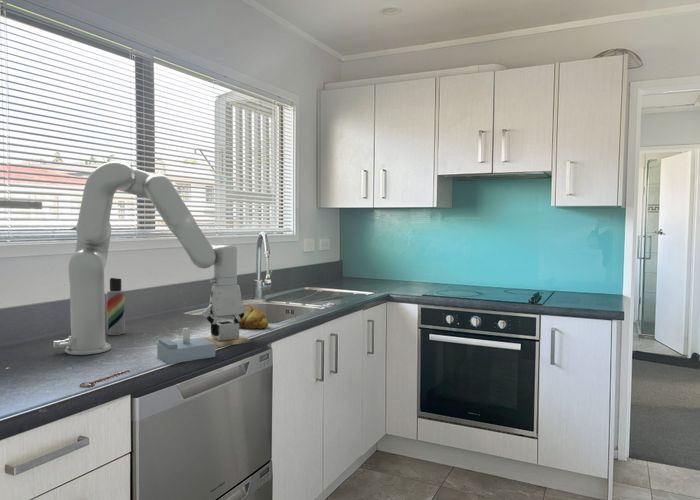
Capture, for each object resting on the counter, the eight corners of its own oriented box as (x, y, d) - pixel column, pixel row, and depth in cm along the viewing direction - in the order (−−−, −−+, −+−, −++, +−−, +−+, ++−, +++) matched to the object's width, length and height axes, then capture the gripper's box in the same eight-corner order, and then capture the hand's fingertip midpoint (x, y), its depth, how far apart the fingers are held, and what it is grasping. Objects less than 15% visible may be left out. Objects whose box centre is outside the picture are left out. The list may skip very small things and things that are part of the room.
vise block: (168, 363, 150) (168, 334, 150) (157, 356, 158) (157, 328, 158) (215, 356, 159) (215, 328, 158) (202, 349, 167) (202, 323, 166)
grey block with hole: (219, 340, 174) (219, 325, 174) (211, 336, 180) (211, 322, 179) (239, 338, 178) (239, 323, 178) (230, 334, 184) (230, 320, 184)
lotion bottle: (104, 333, 188) (103, 277, 187) (120, 331, 192) (120, 276, 191) (111, 336, 184) (110, 278, 183) (127, 333, 188) (127, 277, 187)
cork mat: (216, 347, 171) (216, 344, 171) (201, 340, 180) (201, 337, 180) (249, 342, 178) (249, 339, 178) (234, 335, 187) (234, 333, 187)
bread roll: (273, 327, 203) (273, 306, 203) (257, 332, 195) (257, 310, 194) (246, 323, 209) (246, 303, 209) (230, 328, 200) (230, 307, 200)
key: (118, 372, 144) (70, 387, 130) (118, 369, 144) (70, 384, 130) (134, 373, 142) (87, 389, 128) (134, 370, 142) (87, 385, 128)
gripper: (205, 284, 170) (205, 339, 171) (254, 281, 180) (253, 333, 181) (196, 281, 175) (196, 335, 177) (244, 279, 186) (243, 329, 187)
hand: (225, 333), depth 179 cm, fingers closed on grey block with hole, 6 cm apart
